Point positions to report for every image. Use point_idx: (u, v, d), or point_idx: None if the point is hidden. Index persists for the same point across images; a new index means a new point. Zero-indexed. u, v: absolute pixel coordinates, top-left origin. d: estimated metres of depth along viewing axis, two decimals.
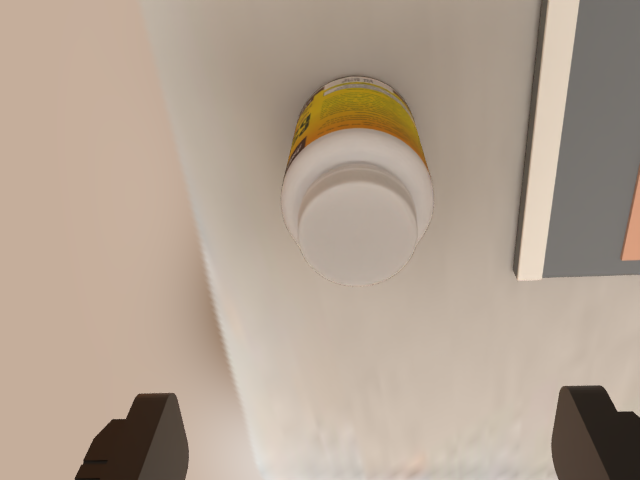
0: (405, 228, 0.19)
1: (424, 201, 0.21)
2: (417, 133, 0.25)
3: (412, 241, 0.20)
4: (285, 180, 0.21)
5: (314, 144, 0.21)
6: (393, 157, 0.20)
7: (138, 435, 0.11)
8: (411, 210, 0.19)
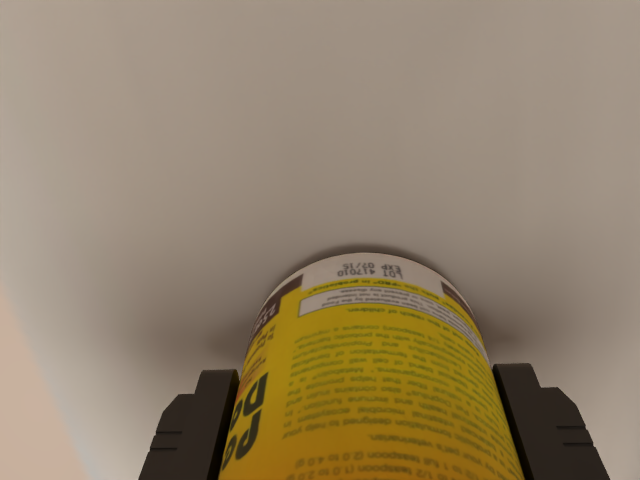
0: None
1: None
2: (501, 402, 0.12)
3: None
4: None
5: None
6: None
7: (208, 407, 0.12)
8: None
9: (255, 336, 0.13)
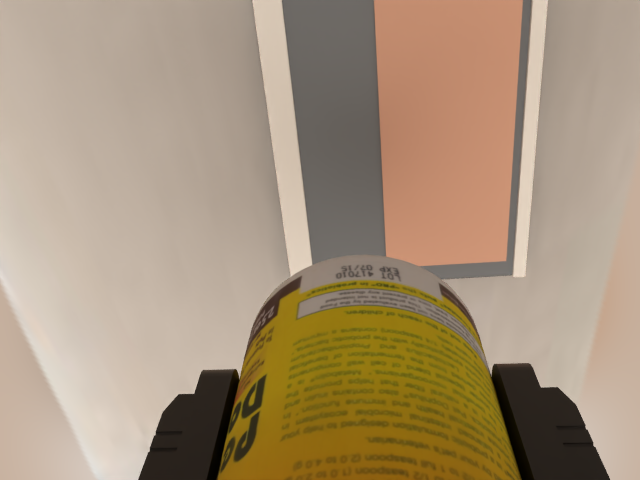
0: None
1: None
2: (498, 404, 0.12)
3: None
4: None
5: None
6: None
7: (209, 407, 0.12)
8: None
9: (254, 338, 0.13)
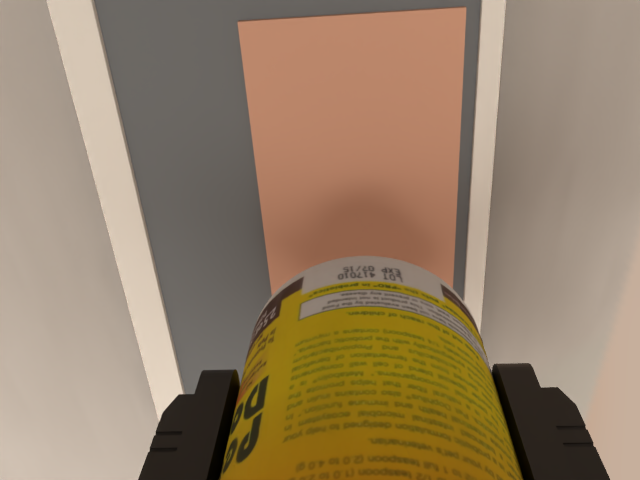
0: None
1: None
2: (500, 405, 0.12)
3: None
4: None
5: None
6: None
7: (208, 407, 0.12)
8: None
9: (256, 339, 0.13)
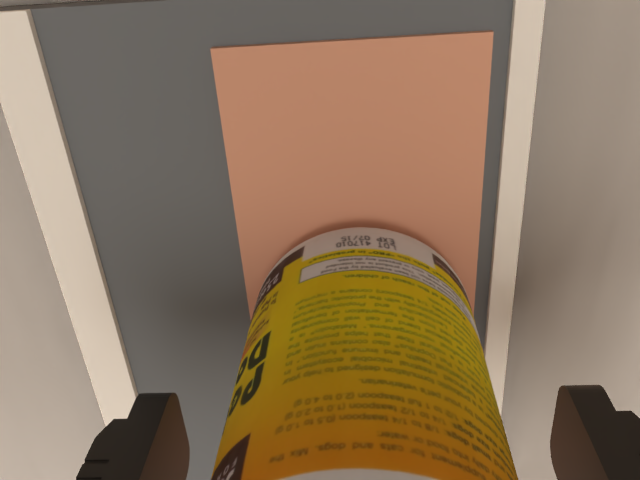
0: None
1: None
2: (485, 362, 0.13)
3: None
4: None
5: None
6: None
7: (139, 434, 0.11)
8: None
9: (259, 303, 0.14)
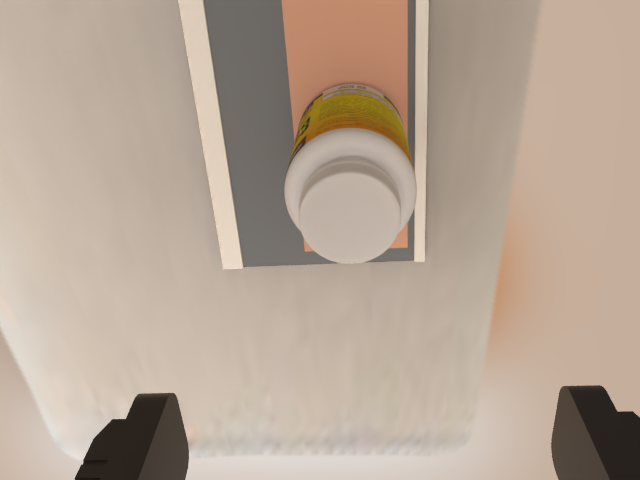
0: (390, 212, 0.23)
1: (407, 190, 0.24)
2: (404, 133, 0.28)
3: (396, 223, 0.23)
4: (288, 173, 0.25)
5: (313, 141, 0.24)
6: (381, 152, 0.24)
7: (138, 435, 0.11)
8: (395, 197, 0.22)
9: (302, 117, 0.30)
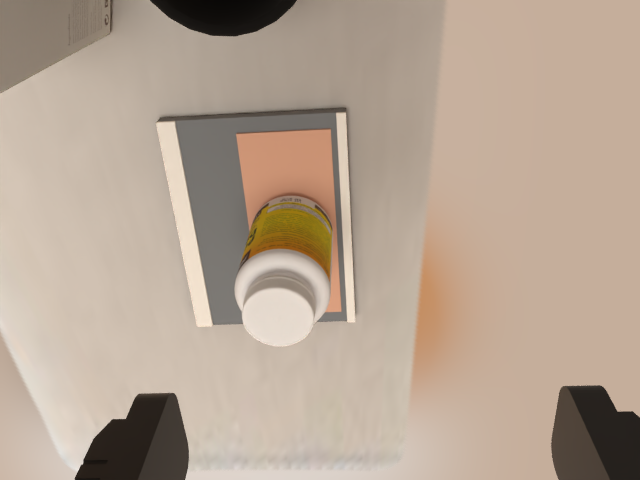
0: (306, 313, 0.32)
1: (322, 292, 0.34)
2: (328, 238, 0.38)
3: (311, 320, 0.32)
4: (236, 279, 0.34)
5: (253, 258, 0.34)
6: (301, 268, 0.33)
7: (138, 435, 0.11)
8: (308, 303, 0.32)
9: (253, 222, 0.39)
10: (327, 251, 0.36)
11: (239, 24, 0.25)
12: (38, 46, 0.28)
